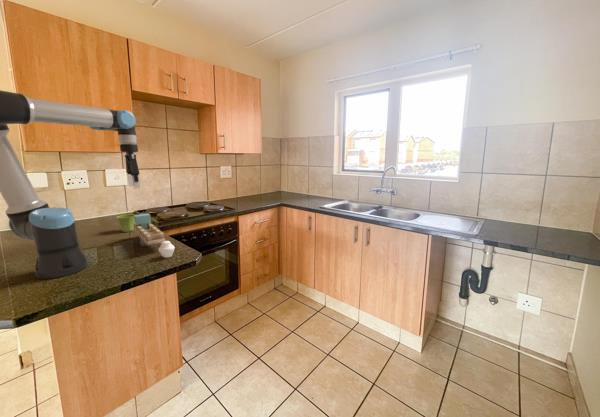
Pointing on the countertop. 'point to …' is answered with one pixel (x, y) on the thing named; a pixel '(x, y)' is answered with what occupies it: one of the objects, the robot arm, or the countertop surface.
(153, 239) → the beam
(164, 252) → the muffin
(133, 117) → the robot arm
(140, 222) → the rider
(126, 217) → the plant pot
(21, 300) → the countertop surface
